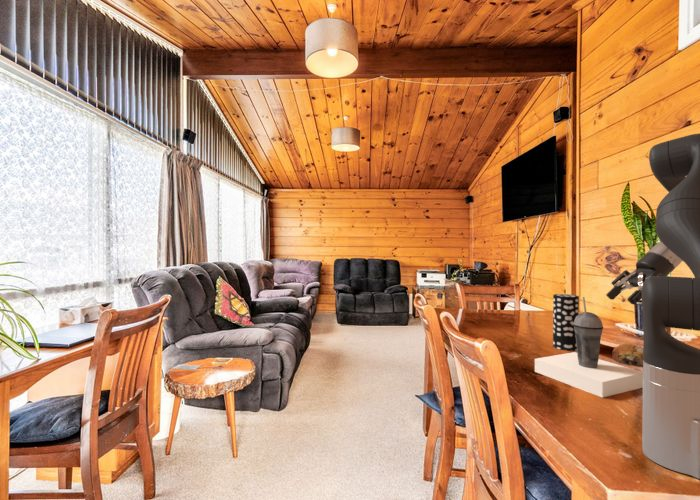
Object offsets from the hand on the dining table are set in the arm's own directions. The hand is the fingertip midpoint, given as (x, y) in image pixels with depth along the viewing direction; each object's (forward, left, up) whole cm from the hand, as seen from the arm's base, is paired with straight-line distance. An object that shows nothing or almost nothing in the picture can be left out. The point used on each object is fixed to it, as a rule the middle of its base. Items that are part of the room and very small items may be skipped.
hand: (619, 299), depth 101 cm
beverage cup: (+3, +8, -19) cm, 21 cm away
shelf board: (+4, +8, -23) cm, 25 cm away
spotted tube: (+28, -16, -23) cm, 40 cm away
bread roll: (+8, -21, -24) cm, 32 cm away
